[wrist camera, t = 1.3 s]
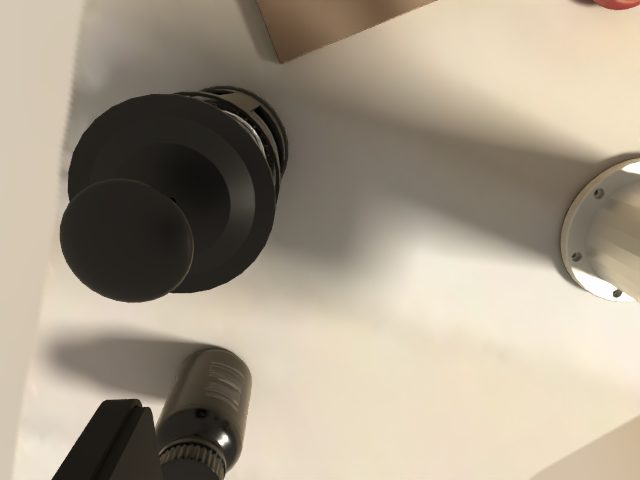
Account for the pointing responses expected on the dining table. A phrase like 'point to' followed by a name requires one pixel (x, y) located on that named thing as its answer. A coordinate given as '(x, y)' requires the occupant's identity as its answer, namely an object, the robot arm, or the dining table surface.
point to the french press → (173, 193)
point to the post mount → (324, 21)
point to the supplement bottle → (204, 417)
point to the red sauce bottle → (617, 4)
